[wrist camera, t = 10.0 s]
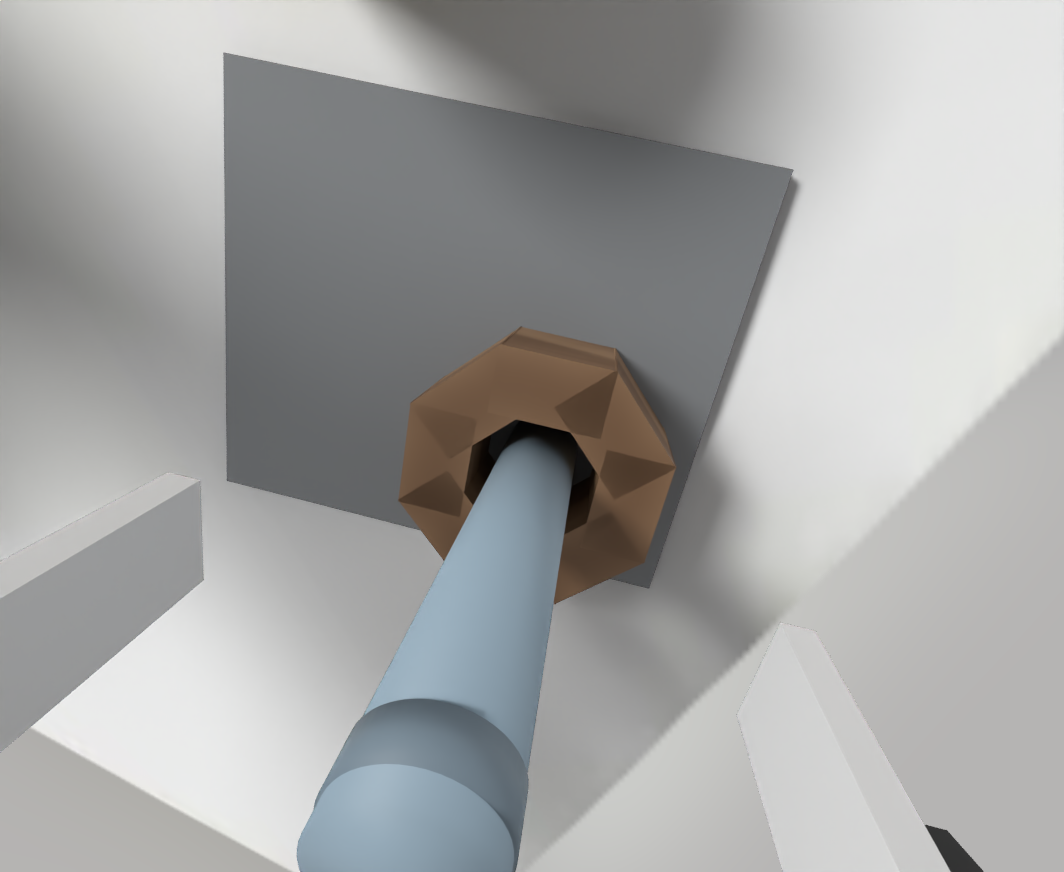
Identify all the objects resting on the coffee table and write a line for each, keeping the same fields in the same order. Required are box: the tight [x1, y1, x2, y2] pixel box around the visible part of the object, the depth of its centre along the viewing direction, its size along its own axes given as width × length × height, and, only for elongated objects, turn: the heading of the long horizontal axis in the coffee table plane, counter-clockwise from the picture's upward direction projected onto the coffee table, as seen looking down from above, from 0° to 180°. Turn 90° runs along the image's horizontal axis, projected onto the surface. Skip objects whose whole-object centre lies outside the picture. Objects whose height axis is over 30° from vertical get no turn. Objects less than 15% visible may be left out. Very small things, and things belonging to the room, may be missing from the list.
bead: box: [398, 326, 676, 604], centre depth 20 cm, size 9×9×4 cm
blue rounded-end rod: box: [297, 420, 577, 872], centre depth 14 cm, size 3×3×16 cm
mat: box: [224, 53, 793, 588], centre depth 21 cm, size 20×17×1 cm
